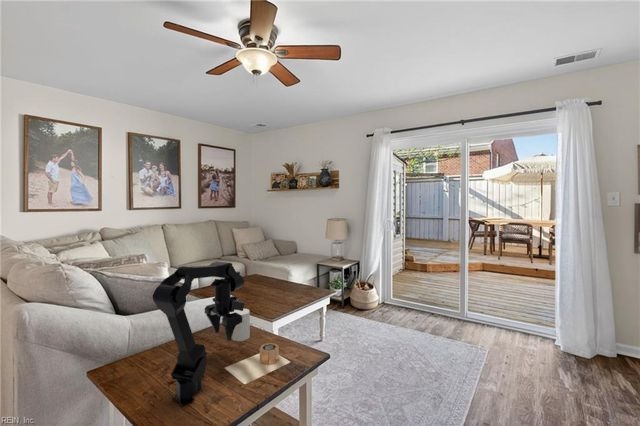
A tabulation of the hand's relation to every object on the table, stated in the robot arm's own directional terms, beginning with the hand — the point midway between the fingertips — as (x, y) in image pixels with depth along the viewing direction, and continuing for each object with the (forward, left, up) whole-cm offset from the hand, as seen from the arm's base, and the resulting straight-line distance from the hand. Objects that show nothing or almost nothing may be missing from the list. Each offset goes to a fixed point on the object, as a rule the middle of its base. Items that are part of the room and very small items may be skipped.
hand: (223, 336), depth 112 cm
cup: (+18, +18, -12) cm, 28 cm away
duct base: (+9, -10, -12) cm, 18 cm away
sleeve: (+14, -10, -10) cm, 20 cm away
